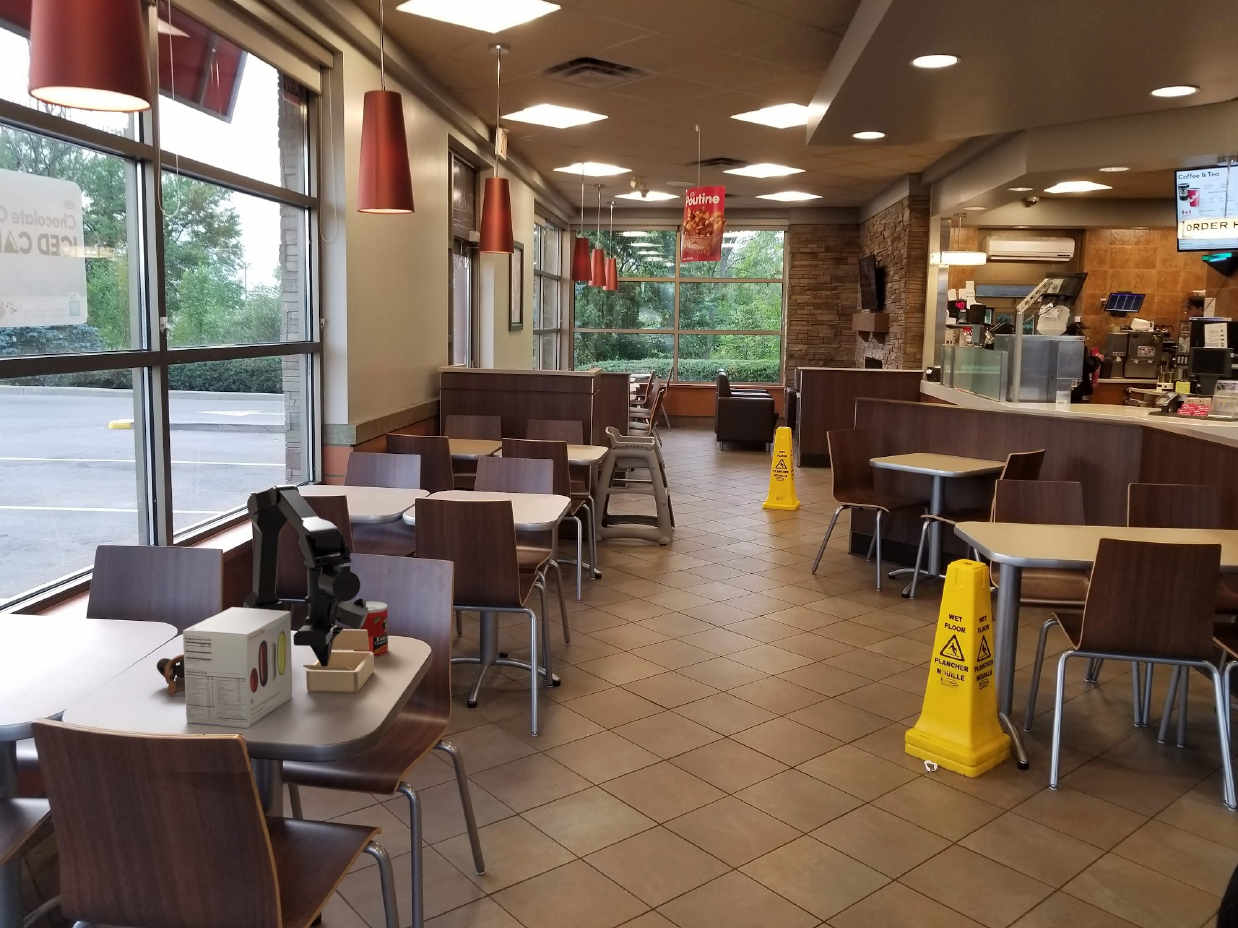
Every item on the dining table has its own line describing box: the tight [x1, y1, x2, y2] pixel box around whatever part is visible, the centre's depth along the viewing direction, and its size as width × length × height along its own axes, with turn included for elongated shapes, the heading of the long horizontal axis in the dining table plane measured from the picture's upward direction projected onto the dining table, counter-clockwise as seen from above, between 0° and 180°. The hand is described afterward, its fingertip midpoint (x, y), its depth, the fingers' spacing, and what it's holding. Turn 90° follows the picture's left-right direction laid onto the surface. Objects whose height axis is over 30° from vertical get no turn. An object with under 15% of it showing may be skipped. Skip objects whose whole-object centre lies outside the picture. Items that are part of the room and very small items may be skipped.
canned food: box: [353, 601, 389, 657], centre depth 227 cm, size 8×8×11 cm
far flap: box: [332, 628, 369, 651], centre depth 213 cm, size 9×5×1 cm
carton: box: [305, 650, 375, 694], centre depth 208 cm, size 11×13×4 cm
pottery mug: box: [156, 653, 185, 697], centre depth 202 cm, size 12×10×8 cm
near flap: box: [302, 664, 353, 671], centre depth 199 cm, size 9×5×1 cm, turn 89°
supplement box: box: [182, 606, 293, 729], centre depth 191 cm, size 17×13×18 cm
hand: (324, 666), depth 197 cm, fingers closed, pressing on near flap
